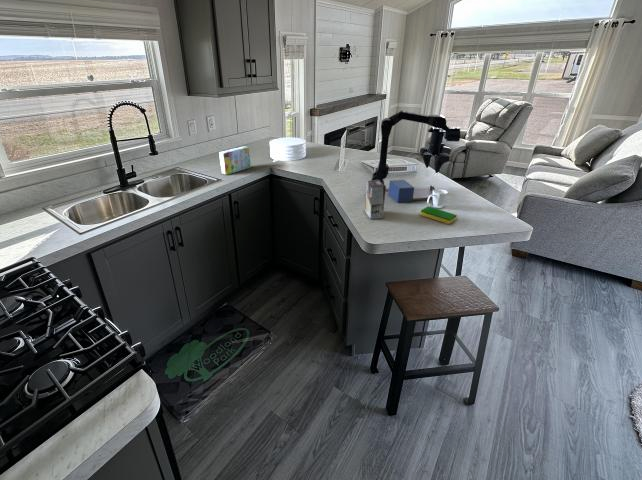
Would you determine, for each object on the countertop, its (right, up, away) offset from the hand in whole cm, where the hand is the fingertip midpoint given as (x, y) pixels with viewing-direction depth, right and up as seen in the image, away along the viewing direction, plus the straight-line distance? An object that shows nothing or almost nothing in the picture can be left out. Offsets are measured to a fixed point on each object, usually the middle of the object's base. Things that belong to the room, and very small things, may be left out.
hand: (431, 170), depth 173 cm
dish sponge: (-6, -24, -20) cm, 32 cm away
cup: (-3, -20, -10) cm, 22 cm away
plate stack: (-76, +20, +85) cm, 116 cm away
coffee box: (-35, -23, -16) cm, 45 cm away
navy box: (-8, -14, +2) cm, 16 cm away
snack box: (-112, +5, +53) cm, 124 cm away
